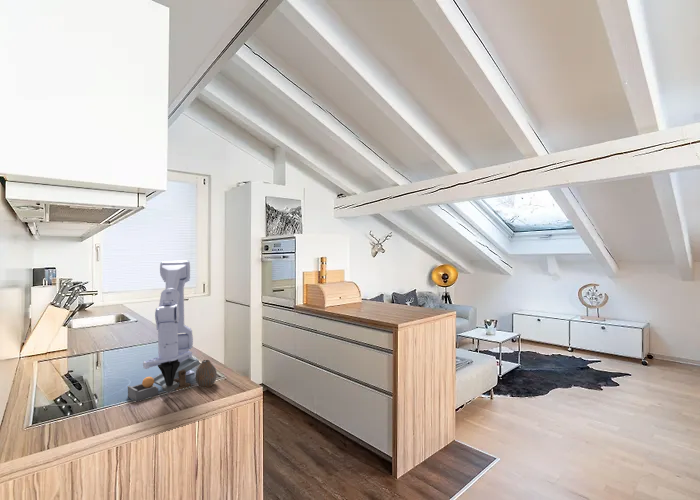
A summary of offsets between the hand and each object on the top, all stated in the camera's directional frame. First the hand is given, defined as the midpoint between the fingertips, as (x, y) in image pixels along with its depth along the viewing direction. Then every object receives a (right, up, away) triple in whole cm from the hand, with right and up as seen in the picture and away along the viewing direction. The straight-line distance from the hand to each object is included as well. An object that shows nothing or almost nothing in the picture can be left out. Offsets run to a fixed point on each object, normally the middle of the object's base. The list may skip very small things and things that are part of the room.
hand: (169, 384), depth 115 cm
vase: (+8, -4, +10) cm, 13 cm away
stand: (-3, -4, +11) cm, 12 cm away
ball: (-9, 0, +4) cm, 9 cm away
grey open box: (-10, -4, +2) cm, 11 cm away
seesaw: (0, 0, +8) cm, 8 cm away
